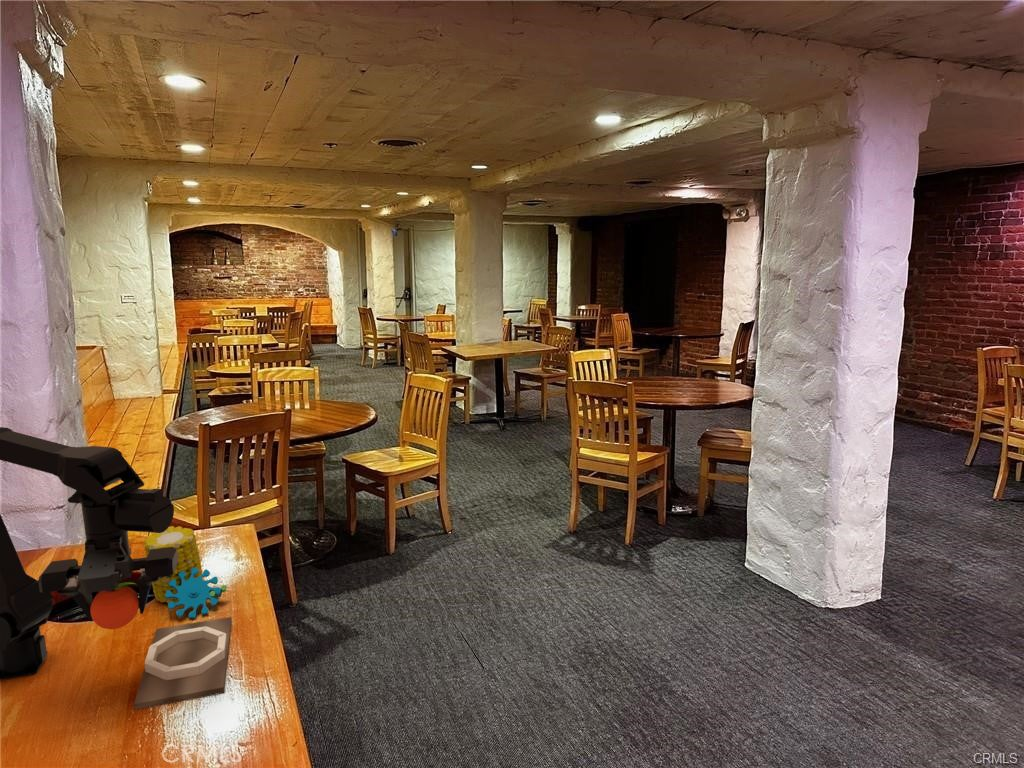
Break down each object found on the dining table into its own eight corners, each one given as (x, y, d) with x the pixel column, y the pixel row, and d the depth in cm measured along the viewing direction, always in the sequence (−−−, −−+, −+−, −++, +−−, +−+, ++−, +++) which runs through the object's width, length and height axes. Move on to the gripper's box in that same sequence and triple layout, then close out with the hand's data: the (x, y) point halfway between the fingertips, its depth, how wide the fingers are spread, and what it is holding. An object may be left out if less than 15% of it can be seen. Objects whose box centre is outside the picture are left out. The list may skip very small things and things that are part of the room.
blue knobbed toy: (163, 618, 127) (167, 567, 132) (162, 627, 131) (166, 578, 136) (226, 613, 132) (227, 564, 137) (223, 622, 136) (225, 574, 141)
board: (134, 709, 105) (133, 704, 105) (156, 633, 125) (156, 628, 125) (224, 692, 109) (223, 687, 109) (231, 621, 129) (231, 616, 129)
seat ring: (141, 684, 109) (140, 676, 109) (154, 642, 120) (153, 634, 120) (223, 670, 113) (222, 661, 113) (228, 630, 125) (227, 622, 124)
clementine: (133, 607, 115) (128, 569, 113) (156, 618, 111) (151, 579, 110) (84, 629, 108) (78, 589, 107) (107, 642, 105) (101, 601, 103)
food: (213, 593, 142) (174, 620, 133) (171, 572, 146) (131, 596, 136) (218, 533, 137) (178, 556, 128) (174, 512, 141) (132, 533, 132)
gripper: (18, 558, 96) (33, 655, 99) (161, 540, 102) (172, 633, 105) (44, 527, 106) (57, 616, 109) (173, 513, 112) (182, 598, 115)
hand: (117, 616), depth 109 cm, fingers closed on clementine, 7 cm apart
